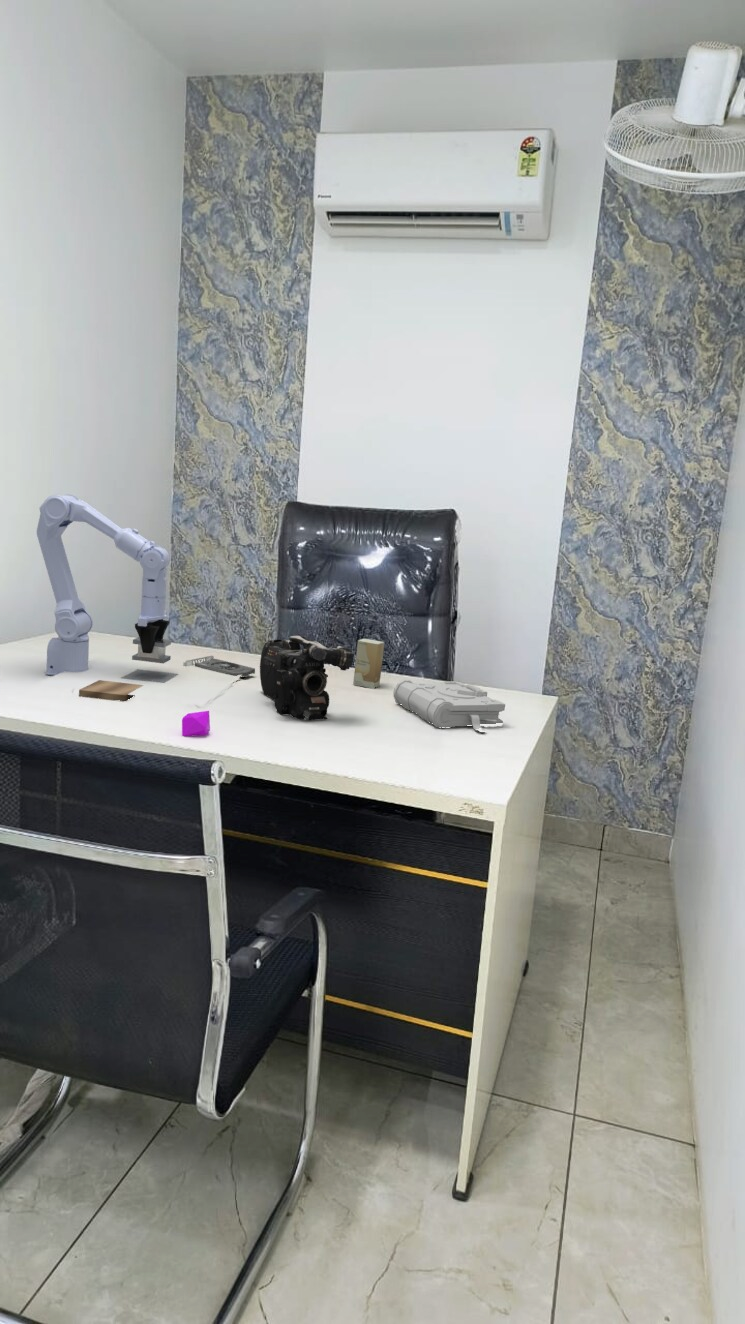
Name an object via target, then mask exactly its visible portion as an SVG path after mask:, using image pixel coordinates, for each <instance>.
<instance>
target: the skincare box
mask: <svg viewBox="0 0 745 1324" xmlns="http://www.w3.org/2000/svg"><path fill="white" fill-rule="evenodd" d="M356 647H357V648H356V653H355V654H356V655H355V656H356V657H355V663H354V672H353V683H352V685H353V686H358V687H363V688H364V687H365V688H368V687H369V689H373V688H374V689H376V688H378V687H380V683H381V676H382V668H383V658H384V650H385V642H384V641H380V640H376V639H368V638H361V639H358V640H357V646H356ZM375 687H376V688H375Z"/></svg>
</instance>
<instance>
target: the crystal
mask: <svg viewBox="0 0 745 1324" xmlns="http://www.w3.org/2000/svg"><path fill="white" fill-rule="evenodd" d="M210 718H211V717H210V710H204V711H198V712H197V711H195V712H190V713H189V712H188V713H187V714H185V715H183V716H182V718H181V737H182V736H184V737H193V736H192V735H197V736H206V734H207V735H208V734H209V733H210V731H211V724H210V721H211V720H210Z"/></svg>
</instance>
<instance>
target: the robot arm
mask: <svg viewBox="0 0 745 1324" xmlns="http://www.w3.org/2000/svg"><path fill="white" fill-rule="evenodd" d="M39 512H40V514H39V518H38V523H37V527H36V537H37V540H38V544H39V546H40V550H41V553H42V558H43V560H44V565H45V568H46V571H47V575H48V578H49V582H50V586H51V588H52V593H53V596H54V599H55V602H56V604H55V605H56V606H55V610H54V617H55V624H54V631H55V632H56V635H57V636H58V637H52V638H50V640H49V641H48V644H47V648H46V672H45V673H44V674H45V675H47V676H57V675H60V674H61V673H64V672H66V673H67V672H69V673H76V672H77V673H80V672H81V673H82V672H86V671H88V670H89V656H90V655H89V653H90V651H89V650H90V648H89V647H90V637H89V634H88V633H89V632H91V630H92V628H93V626H94V625H93V623H94V622H93V618H92V616H91V615H90V614H89V612H88V611H87V609H86V606H85V604H84V603H83V601H81V599H80V597H79V596H78V591H77V588H76V585H75V582H74V577H73V573H72V571H71V567H70V564H69V561H68V557H67V553H66V550H65V546H64V543H63V539H62V535H63V533H64V532H65V530H66V529H67V528H68V527H69V525H70V524H72V523H73V522H79V523H80V522H81V523H86V524H87V525H88V526H91V527H93V528H94V529H96V530H97V531H99V532H101V533H102V534H104V535H106V536H108V537H109V538H111V539H112V540H113V541H114V545H115V548H116V549H119V550H120V551H121V552H122V553H124V554H125V555H127V556H128V557H130V558H132V559H133V560H135V561H136V562H139V564H140V566H141V568H142V576H141V577H142V581H141V599H140V601H141V602H140V605H141V606H140V613H139V617H138V618H137V623H134V628H135V630H136V632H137V635H138V637H139V638H140V642H141V647H142V652H143V653H150V654H151V653H152V650H153V645H154V639H155V638H158V639H164V636H165V633H166V631H167V629H168V627H169V625H170V620H169V619H170V615H168V614H167V613H168V611H167V610H166V599H167V597H166V596H167V567H168V566H169V564H170V561H171V557H170V553H169V552H168V550H167V549H165V547H164V546H162V545H155V544H156V542H155V541H153V540H149V539H147V538H145V537H144V536H142V535H141V534H140V531H139V530H138V529H137V528H131V527H126V528H122V527H120V526H119V525H117V524H116V523H115V522H113V521H112V520H111V519H110V518H108V517H106V516H105V515H104V514H102V513H101V512H100V511H99V510H97V509H95V508H94V507H93V506H91V505H90V504H89V503H87V502H86V501H84V500H82V499H79V498H78V497H77V496H75V495H73V494H64V495H58V494H53V495H50V496H48V497H46V499H45V500H44V502H43V503H42V504H41V505H40V507H39Z"/></svg>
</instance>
